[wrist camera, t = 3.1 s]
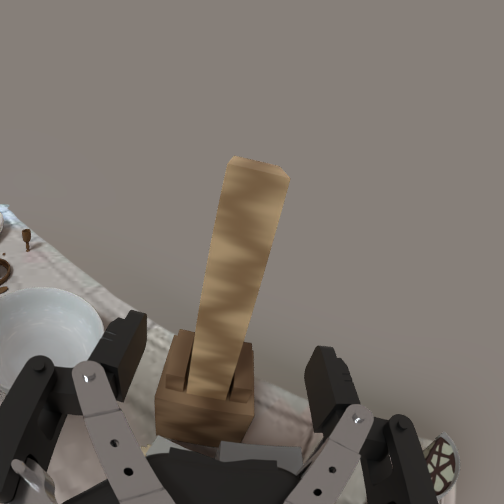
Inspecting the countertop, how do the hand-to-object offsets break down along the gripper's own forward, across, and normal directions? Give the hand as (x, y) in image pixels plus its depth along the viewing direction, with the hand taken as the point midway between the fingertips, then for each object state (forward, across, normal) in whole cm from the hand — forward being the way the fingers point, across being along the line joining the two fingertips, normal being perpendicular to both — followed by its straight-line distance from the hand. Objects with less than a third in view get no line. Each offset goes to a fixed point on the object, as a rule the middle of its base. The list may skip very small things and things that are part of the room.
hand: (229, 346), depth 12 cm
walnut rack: (+12, 0, +24) cm, 27 cm away
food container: (-3, -26, +25) cm, 36 cm away
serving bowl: (+12, +24, +24) cm, 36 cm away
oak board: (+12, 0, +15) cm, 19 cm away
